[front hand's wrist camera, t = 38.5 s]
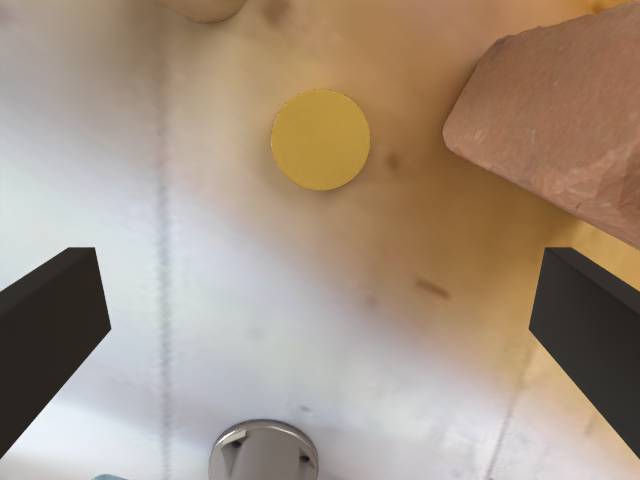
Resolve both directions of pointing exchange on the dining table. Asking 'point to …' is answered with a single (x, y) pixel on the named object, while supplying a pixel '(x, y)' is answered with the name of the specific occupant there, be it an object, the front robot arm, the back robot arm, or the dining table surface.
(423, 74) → the dining table surface
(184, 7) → the jar
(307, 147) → the lid
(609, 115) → the stone
